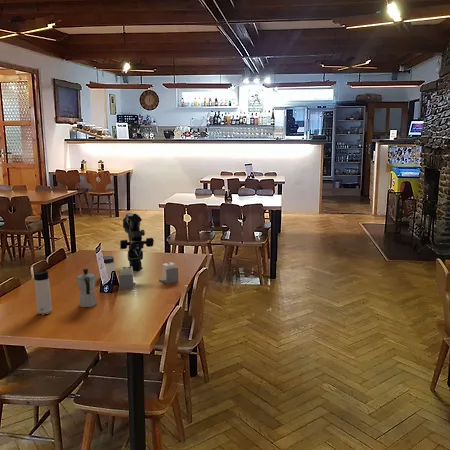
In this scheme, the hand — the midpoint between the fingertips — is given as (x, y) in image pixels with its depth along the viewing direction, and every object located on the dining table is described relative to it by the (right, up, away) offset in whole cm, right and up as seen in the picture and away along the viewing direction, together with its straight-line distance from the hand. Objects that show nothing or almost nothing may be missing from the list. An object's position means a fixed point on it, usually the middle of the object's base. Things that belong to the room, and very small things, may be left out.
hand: (138, 255), depth 268 cm
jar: (-19, -13, +6) cm, 24 cm away
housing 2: (+17, -14, -2) cm, 22 cm away
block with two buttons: (-4, -14, -9) cm, 18 cm away
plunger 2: (+18, -13, -3) cm, 22 cm away
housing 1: (-4, -16, -11) cm, 20 cm away
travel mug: (-35, -24, -47) cm, 63 cm away
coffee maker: (-18, -22, -38) cm, 47 cm away
